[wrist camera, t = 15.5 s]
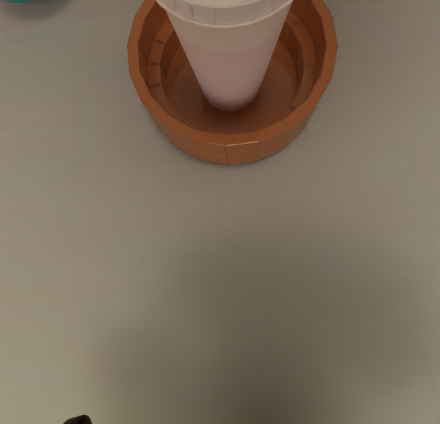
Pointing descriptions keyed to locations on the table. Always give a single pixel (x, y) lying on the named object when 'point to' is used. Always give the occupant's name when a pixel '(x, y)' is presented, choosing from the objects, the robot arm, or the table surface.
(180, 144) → the bowl
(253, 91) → the smoothie
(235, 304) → the table surface
